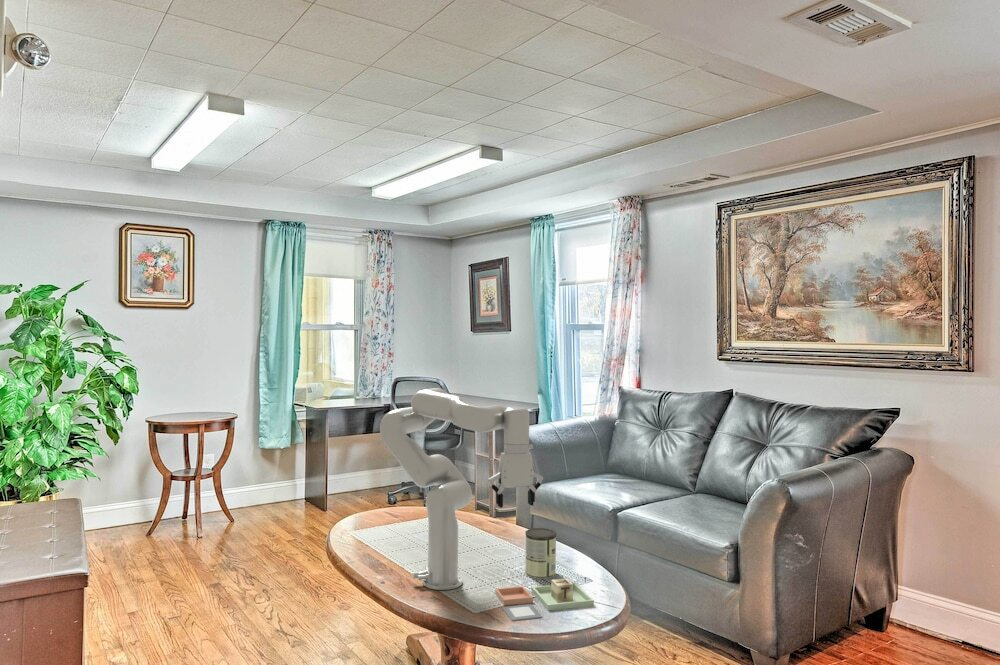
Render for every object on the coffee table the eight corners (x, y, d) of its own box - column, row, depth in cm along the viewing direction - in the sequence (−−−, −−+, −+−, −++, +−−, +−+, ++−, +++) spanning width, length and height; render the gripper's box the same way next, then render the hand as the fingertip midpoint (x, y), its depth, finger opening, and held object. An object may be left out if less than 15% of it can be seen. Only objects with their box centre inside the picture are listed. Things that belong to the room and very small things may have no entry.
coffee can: (525, 568, 237) (526, 527, 237) (555, 570, 236) (556, 528, 236) (523, 579, 227) (524, 536, 227) (555, 581, 226) (556, 537, 226)
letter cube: (557, 602, 207) (557, 585, 207) (551, 596, 212) (551, 579, 212) (572, 600, 209) (573, 584, 209) (566, 594, 214) (566, 578, 214)
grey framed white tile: (511, 622, 194) (511, 619, 194) (502, 609, 202) (502, 607, 202) (542, 619, 196) (542, 616, 196) (531, 606, 205) (531, 604, 205)
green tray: (547, 612, 202) (547, 605, 201) (531, 593, 215) (531, 586, 215) (593, 607, 206) (593, 600, 206) (574, 589, 219) (574, 582, 219)
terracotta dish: (503, 606, 205) (503, 600, 205) (495, 595, 213) (495, 588, 213) (532, 603, 207) (532, 597, 207) (523, 592, 216) (523, 586, 216)
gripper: (539, 445, 216) (538, 500, 216) (485, 447, 211) (484, 504, 211) (547, 449, 209) (546, 507, 209) (492, 452, 204) (491, 510, 204)
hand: (515, 505), depth 210 cm, fingers open, 9 cm apart
